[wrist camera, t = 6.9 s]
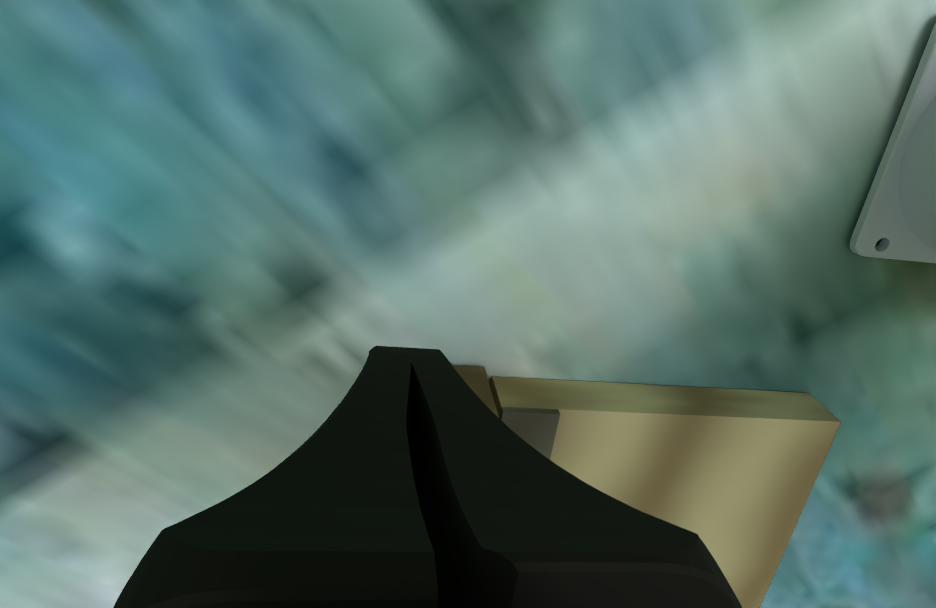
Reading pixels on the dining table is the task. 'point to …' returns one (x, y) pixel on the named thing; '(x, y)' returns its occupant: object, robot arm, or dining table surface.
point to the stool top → (685, 458)
